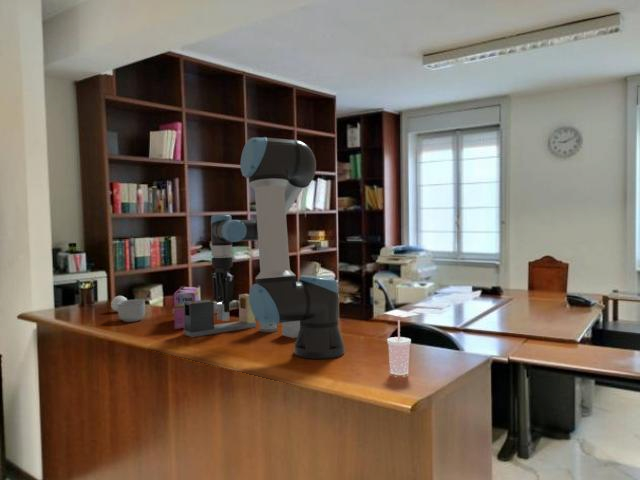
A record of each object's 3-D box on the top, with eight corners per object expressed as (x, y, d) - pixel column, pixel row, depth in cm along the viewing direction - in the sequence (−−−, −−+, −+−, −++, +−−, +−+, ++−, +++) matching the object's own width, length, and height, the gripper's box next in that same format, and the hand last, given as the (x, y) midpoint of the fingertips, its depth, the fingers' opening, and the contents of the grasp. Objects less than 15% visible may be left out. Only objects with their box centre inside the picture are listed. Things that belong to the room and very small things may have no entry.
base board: (192, 337, 179) (191, 332, 179) (183, 333, 184) (183, 329, 184) (256, 326, 195) (256, 323, 195) (246, 324, 200) (246, 320, 200)
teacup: (148, 321, 209) (148, 301, 209) (121, 324, 203) (120, 304, 203) (139, 316, 221) (139, 297, 221) (113, 319, 215) (112, 300, 215)
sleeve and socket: (191, 332, 179) (190, 302, 179) (184, 330, 184) (183, 300, 183) (255, 322, 195) (254, 295, 195) (247, 320, 200) (246, 293, 199)
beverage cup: (389, 369, 137) (388, 317, 136) (412, 371, 135) (412, 318, 134) (385, 376, 131) (385, 322, 130) (409, 378, 129) (409, 323, 128)
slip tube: (195, 314, 181) (195, 305, 181) (192, 313, 184) (192, 304, 184) (239, 308, 192) (238, 300, 192) (235, 307, 195) (234, 299, 195)
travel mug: (275, 333, 184) (274, 277, 183) (257, 332, 185) (256, 277, 184) (279, 329, 190) (279, 275, 189) (262, 328, 191) (261, 275, 190)
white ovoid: (113, 310, 235) (113, 294, 235) (130, 310, 236) (130, 294, 236) (107, 314, 225) (106, 298, 225) (124, 314, 226) (124, 297, 226)
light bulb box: (303, 330, 187) (303, 301, 187) (316, 333, 182) (316, 303, 182) (281, 335, 180) (281, 304, 179) (294, 338, 175) (293, 307, 175)
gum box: (182, 317, 217) (182, 285, 216) (202, 316, 218) (201, 285, 217) (174, 329, 193) (173, 293, 193) (195, 328, 194) (194, 292, 194)
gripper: (242, 257, 185) (243, 321, 186) (220, 255, 198) (221, 315, 199) (223, 258, 181) (224, 324, 181) (202, 256, 193) (204, 318, 194)
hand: (223, 319), depth 190 cm, fingers closed on slip tube, 3 cm apart
